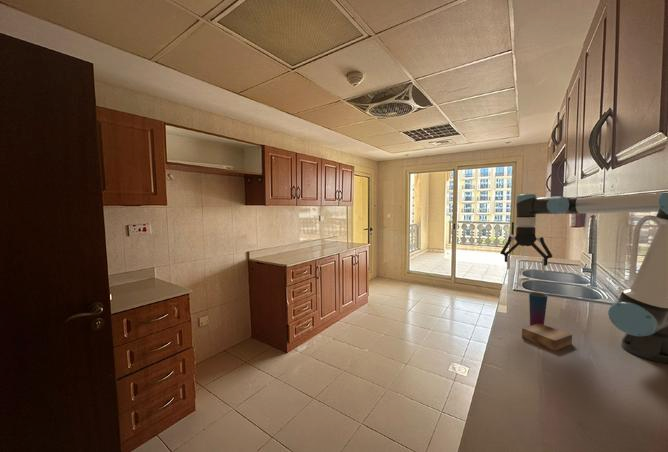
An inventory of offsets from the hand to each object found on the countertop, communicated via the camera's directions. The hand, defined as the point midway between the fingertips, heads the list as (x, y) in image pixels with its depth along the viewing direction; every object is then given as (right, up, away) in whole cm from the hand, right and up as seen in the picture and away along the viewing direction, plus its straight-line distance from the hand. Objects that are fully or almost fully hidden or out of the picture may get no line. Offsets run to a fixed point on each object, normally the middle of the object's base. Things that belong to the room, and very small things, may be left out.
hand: (525, 270), depth 129 cm
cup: (+3, -25, -4) cm, 26 cm away
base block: (-4, -26, -18) cm, 32 cm away
